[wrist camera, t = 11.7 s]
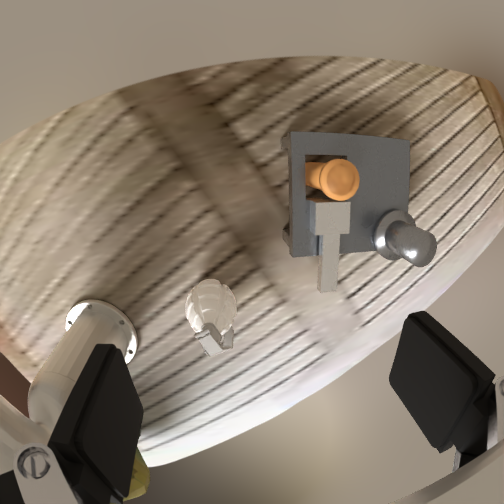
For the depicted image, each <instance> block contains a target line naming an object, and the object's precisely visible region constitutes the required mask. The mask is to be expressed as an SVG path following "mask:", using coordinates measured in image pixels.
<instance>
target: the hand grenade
mask: <svg viewBox="0 0 504 504" xmlns="http://www.w3.org/2000/svg"><path fill="white" fill-rule="evenodd" d="M185 311H186V317H187V319H189V323H190V325H191V327H192V328H193V330H194V331H195V332H196V333H195V335H194V336H195V338H196V339H197V338H198V340H199V342H200V343H201V344H202V347H203V349H204V348H205V349H204V353H206V354H207V352H208V354H209V355H208V354H207V355H208V356H212V355H216V354H220V353H223V352H226V351H228V350H230V349H232V348H233V336H234V331H233V327H232V325H233V323H234V319H233V317H235V316H236V313H237V306H236V299H235V297H234V294H233V292H232V291H231V290H230V288H229V287H228V286H227V285H226V284H223V285H221V284H220V282H219V280H216V279H206V280H203V281H201V283H199V285H197V286H194V288H192V289H191V291H190V292H189V294H188V296H187V300H186V307H185ZM223 334H224V343H221V342H220V341H221V339H222V335H223ZM222 344H223V345H222Z"/></svg>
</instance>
